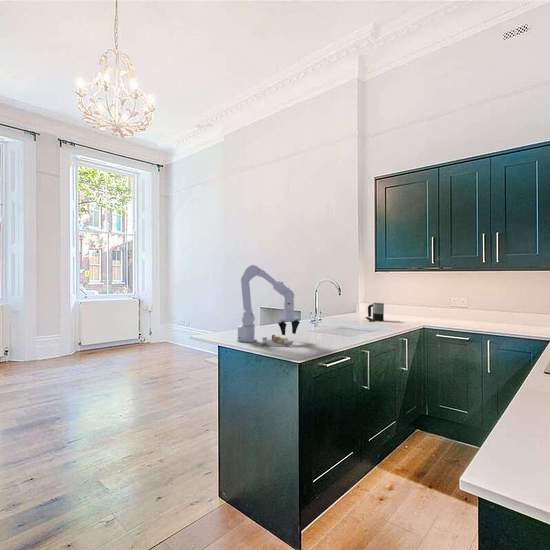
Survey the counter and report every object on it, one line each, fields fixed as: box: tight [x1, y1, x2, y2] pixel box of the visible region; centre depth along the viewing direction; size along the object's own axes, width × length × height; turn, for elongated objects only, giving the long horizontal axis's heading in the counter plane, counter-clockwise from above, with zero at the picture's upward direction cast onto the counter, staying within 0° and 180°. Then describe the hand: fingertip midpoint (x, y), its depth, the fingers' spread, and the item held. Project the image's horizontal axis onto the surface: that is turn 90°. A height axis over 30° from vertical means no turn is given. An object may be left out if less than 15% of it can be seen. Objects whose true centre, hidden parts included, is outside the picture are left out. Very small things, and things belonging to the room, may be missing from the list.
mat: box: [260, 339, 294, 348], centre depth 199 cm, size 15×16×1 cm
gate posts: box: [261, 336, 289, 346], centre depth 194 cm, size 14×3×4 cm, turn 86°
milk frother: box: [365, 302, 385, 322], centre depth 298 cm, size 14×16×15 cm
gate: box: [271, 334, 285, 344], centre depth 199 cm, size 10×1×3 cm, turn 35°
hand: (288, 334), depth 205 cm, fingers open, 7 cm apart
